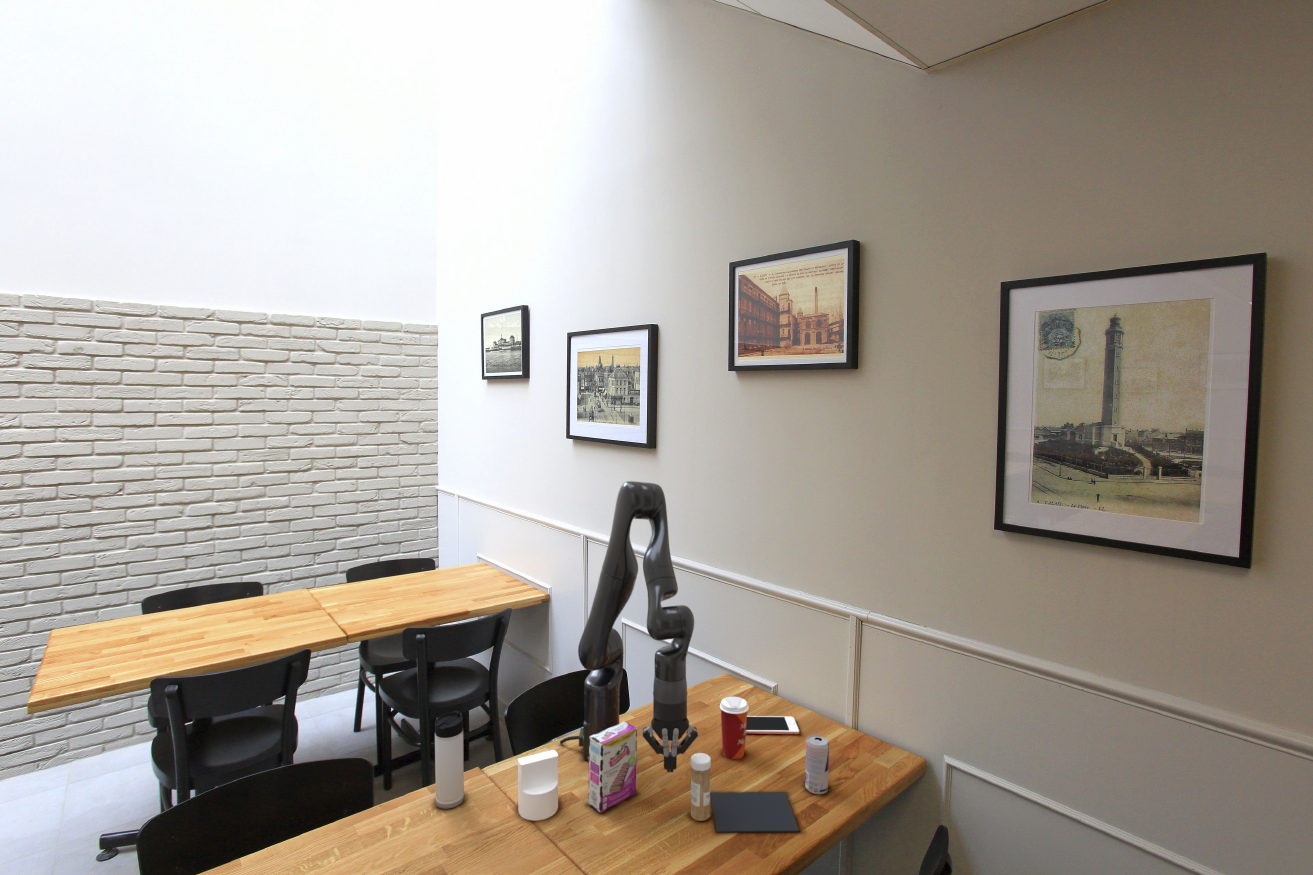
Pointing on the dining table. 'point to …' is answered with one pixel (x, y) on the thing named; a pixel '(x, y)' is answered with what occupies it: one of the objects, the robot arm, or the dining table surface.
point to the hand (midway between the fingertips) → (669, 770)
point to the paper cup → (733, 726)
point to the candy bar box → (612, 766)
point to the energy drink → (817, 764)
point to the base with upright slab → (538, 785)
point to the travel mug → (449, 760)
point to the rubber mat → (752, 812)
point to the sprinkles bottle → (700, 786)
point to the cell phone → (771, 725)
